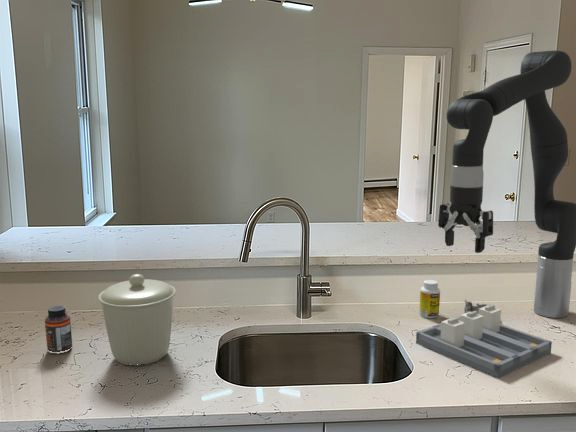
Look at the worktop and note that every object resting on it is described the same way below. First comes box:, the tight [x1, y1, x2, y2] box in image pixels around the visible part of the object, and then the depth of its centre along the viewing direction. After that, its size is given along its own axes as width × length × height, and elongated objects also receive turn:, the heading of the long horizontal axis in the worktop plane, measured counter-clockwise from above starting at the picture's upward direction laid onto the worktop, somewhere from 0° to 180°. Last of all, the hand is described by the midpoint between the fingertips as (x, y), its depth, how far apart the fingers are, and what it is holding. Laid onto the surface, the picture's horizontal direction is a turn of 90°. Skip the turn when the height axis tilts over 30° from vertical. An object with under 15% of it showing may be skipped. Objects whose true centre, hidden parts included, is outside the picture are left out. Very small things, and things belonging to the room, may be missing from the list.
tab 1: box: [440, 316, 465, 347], centre depth 144 cm, size 4×4×7 cm
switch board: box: [415, 316, 553, 379], centre depth 146 cm, size 22×24×3 cm
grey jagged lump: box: [463, 299, 492, 314], centre depth 166 cm, size 11×8×4 cm
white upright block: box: [478, 304, 502, 333], centre depth 152 cm, size 4×4×7 cm
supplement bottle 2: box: [418, 279, 441, 319], centre depth 168 cm, size 6×6×10 cm
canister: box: [97, 273, 177, 366], centre depth 140 cm, size 18×18×21 cm
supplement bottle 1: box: [44, 304, 73, 352], centre depth 145 cm, size 6×6×11 cm
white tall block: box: [459, 311, 484, 340], centre depth 148 cm, size 4×4×7 cm
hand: (463, 248), depth 143 cm, fingers open, 8 cm apart
